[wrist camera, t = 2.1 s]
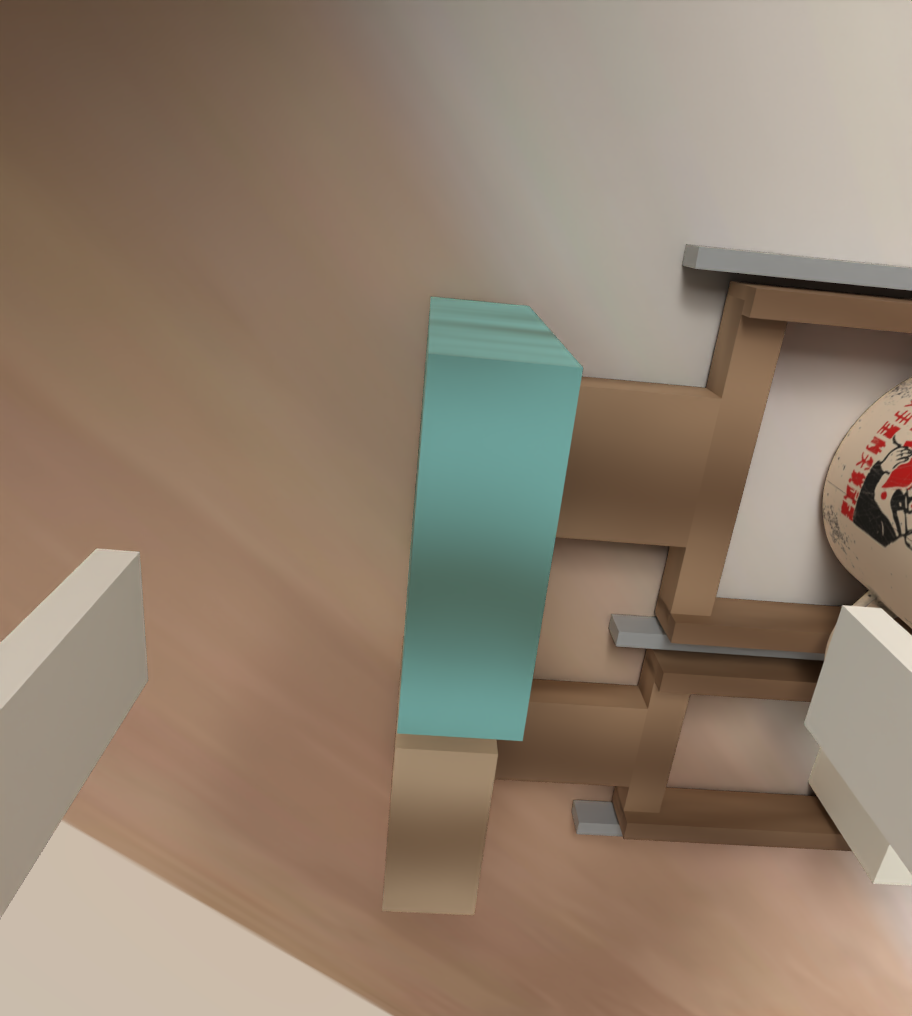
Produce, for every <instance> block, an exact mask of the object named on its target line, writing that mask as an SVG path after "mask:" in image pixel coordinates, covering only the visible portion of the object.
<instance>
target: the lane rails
mask: <svg viewBox="0 0 912 1016" xmlns="http://www.w3.org/2000/svg"><path fill="white" fill-rule="evenodd" d="M682 265H683V266H687V267H691V268H694V269H703V270H713V271H723V272H733V273H743V274H753V275H763V276H773V277H782V278H792V279H802V280H812V281H822V282H832V283H842V284H852V285H862V286H872V287H882V288H891V289H901V290H911V291H912V268H911V267H902V266H892V265H882V264H872V263H863V262H853V261H843V260H834V259H824V258H814V257H804V256H795V255H785V254H775V253H766V252H756V251H746V250H736V249H727V248H717V247H707V246H697V245H688V244H686V249H685V254H684V259H683V263H682ZM609 630H610V633H611V635H612V638H613V640H614V643H615V645H616V646H619V647H634V648H648V649H663V650H677V651H692V652H706V653H721V654H735V655H750V656H764V657H779V658H794V659H808V660H823V661H824V658H825V654H821V653H807V652H792V651H778V650H764V649H749V648H735V647H720V646H706V645H692V644H677V643H671V642H670V640H669V638H668V637H667V635H666V633H665V631H664V629H663V627H662V625H661V623H660V621H659V620H658V618H657V617H646V616H632V615H618V614H611V619H610V624H609ZM572 815H573V820H574V824H575V829H576V833H577V834H586V835H605V836H623V835H622V832H621V828H620V825H619V822H618V818H617V815H616V811H615V808H614V805H613V802H602V801H584V800H574V802H573V807H572Z"/></svg>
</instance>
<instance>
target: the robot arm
mask: <svg viewBox="0 0 912 1016" xmlns="http://www.w3.org/2000/svg"><path fill="white" fill-rule="evenodd" d="M147 682H148V668H147V653H146V638H145V623H144V607H143V592H142V577H141V562H140V552H137V551H123V550H110V549H97V548H96V549H95V550H94V551H93V552H92V553H91V554H90V555H89V556H88V557H87V558H86V559H85V560H84V561H83V562H82V563H81V564H80V565H79V566H78V567H77V568H76V569H75V570H74V571H73V572H72V573H71V574H70V575H69V576H68V577H67V578H66V579H65V580H64V581H63V582H62V583H61V584H60V585H59V586H58V587H57V588H56V589H55V590H54V591H53V592H52V593H51V594H50V595H49V596H47V597H46V598H45V599H44V600H43V601H42V602H41V603H40V604H39V605H38V606H37V607H36V608H35V609H34V610H33V611H32V612H31V613H30V614H29V615H28V616H27V617H26V618H25V619H24V620H23V621H22V622H21V623H20V624H19V625H18V626H17V627H16V628H15V629H14V630H13V631H12V632H11V633H10V634H9V635H8V636H7V637H6V638H5V639H4V640H3V641H2V642H1V643H0V918H1V917H2V915H3V914H4V912H5V910H6V909H7V907H8V905H9V904H10V902H11V900H12V899H13V897H14V896H15V894H16V892H17V891H18V889H19V888H20V886H21V885H22V883H23V881H24V880H25V878H26V876H27V875H28V873H29V872H30V870H31V868H32V867H33V865H34V863H35V862H36V860H37V859H38V857H39V855H40V854H41V852H42V851H43V849H44V847H45V846H46V844H47V843H48V841H49V839H50V838H51V836H52V835H53V833H54V831H55V830H56V828H57V826H58V825H59V823H60V822H61V820H62V818H63V817H64V815H65V814H66V812H67V810H68V809H69V807H70V806H71V804H72V802H73V801H74V799H75V798H76V796H77V794H78V793H79V791H80V789H81V788H82V786H83V785H84V783H85V781H86V780H87V778H88V777H89V775H90V773H91V772H92V770H93V769H94V767H95V765H96V764H97V762H98V760H99V759H100V757H101V756H102V754H103V752H104V751H105V749H106V748H107V746H108V744H109V743H110V741H111V740H112V738H113V736H114V735H115V733H116V731H117V730H118V728H119V727H120V725H121V723H122V722H123V720H124V719H125V717H126V715H127V714H128V712H129V711H130V709H131V707H132V706H133V704H134V702H135V701H136V699H137V698H138V696H139V694H140V693H141V691H142V690H143V688H144V686H145V685H146V683H147ZM804 725H805V726H806V728H807V729H808V731H809V732H810V733H811V735H812V736H813V738H814V739H815V740H816V742H817V743H818V745H819V746H820V747H821V749H822V750H823V752H824V753H825V754H826V756H827V757H828V759H829V760H830V761H831V763H832V764H833V766H834V767H835V768H836V770H837V771H838V773H839V774H840V775H841V777H842V778H843V780H844V781H845V782H846V784H847V785H848V787H849V788H850V789H851V791H852V792H853V794H854V795H855V796H856V798H857V799H858V801H859V802H860V803H861V805H862V806H863V808H864V809H865V810H866V812H867V813H868V815H869V816H870V817H871V819H872V820H873V822H874V823H875V824H876V826H877V827H878V829H879V830H880V831H881V833H882V834H883V836H884V837H885V838H886V840H887V841H888V842H889V844H890V845H891V847H892V848H893V849H894V851H895V852H896V854H897V855H898V856H899V858H900V859H901V861H902V862H903V863H904V865H905V866H906V868H907V869H908V870H909V872H910V873H911V875H912V635H911V634H909V633H908V632H907V631H906V630H905V629H904V628H903V627H902V626H900V625H899V624H898V623H897V622H896V621H895V620H894V619H893V618H892V617H890V616H889V615H888V614H887V613H886V612H885V611H884V610H883V609H881V608H872V607H859V606H846V605H842V608H841V611H840V614H839V617H838V620H837V623H836V626H835V629H834V632H833V636H832V639H831V642H830V645H829V648H828V651H827V654H826V657H825V660H824V663H823V666H822V669H821V673H820V676H819V679H818V682H817V685H816V688H815V691H814V694H813V697H812V700H811V703H810V706H809V709H808V713H807V716H806V719H805V722H804Z"/></svg>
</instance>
